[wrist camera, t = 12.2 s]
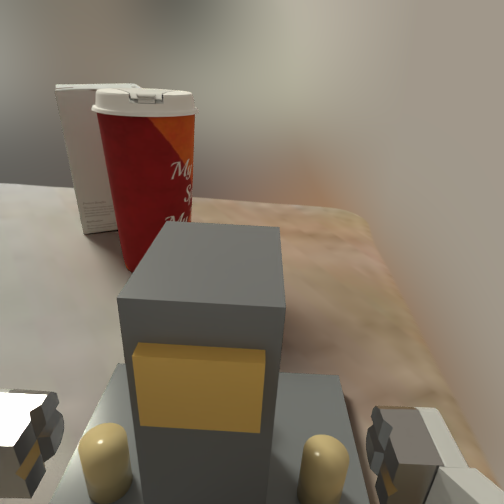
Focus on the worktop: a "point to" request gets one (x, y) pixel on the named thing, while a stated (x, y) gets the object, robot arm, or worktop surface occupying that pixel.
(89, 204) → the skincare box
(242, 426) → the plug block
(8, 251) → the worktop surface
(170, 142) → the coffee cup
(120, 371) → the slate board
